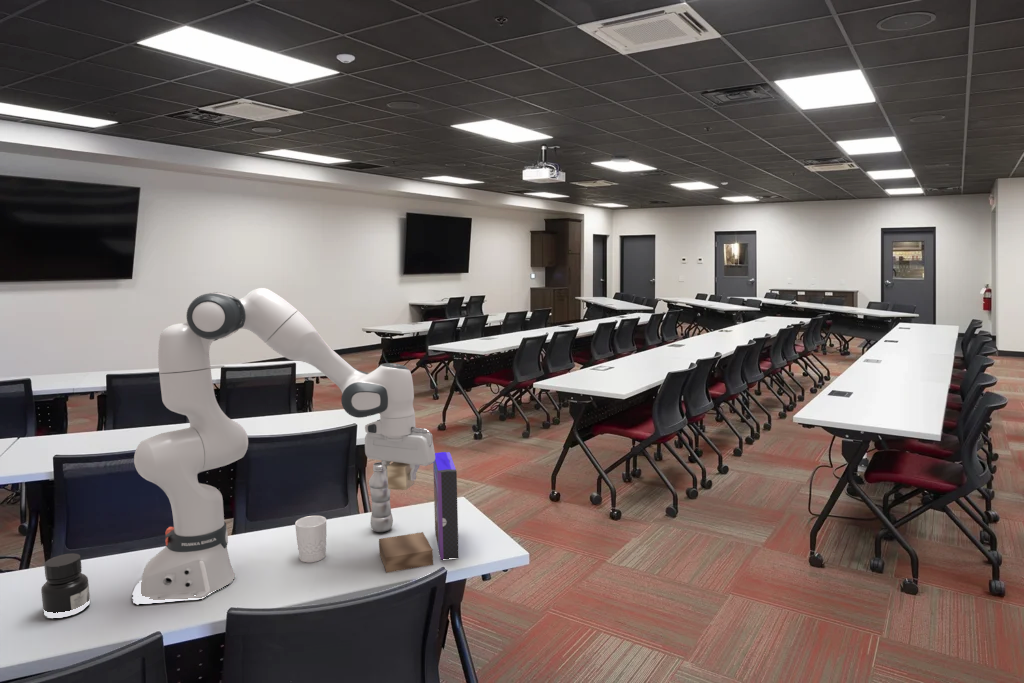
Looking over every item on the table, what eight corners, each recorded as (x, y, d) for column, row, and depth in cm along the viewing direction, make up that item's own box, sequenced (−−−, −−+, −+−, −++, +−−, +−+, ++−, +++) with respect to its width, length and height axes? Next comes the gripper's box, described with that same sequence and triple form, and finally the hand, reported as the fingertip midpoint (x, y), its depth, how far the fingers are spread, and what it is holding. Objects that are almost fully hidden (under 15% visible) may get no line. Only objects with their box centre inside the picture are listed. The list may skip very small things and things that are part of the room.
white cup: (322, 548, 182) (321, 513, 180) (332, 558, 175) (330, 522, 174) (293, 555, 177) (291, 519, 176) (301, 566, 171) (300, 529, 170)
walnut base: (386, 572, 167) (385, 557, 166) (379, 553, 178) (378, 538, 178) (433, 564, 171) (432, 550, 170) (423, 546, 182) (422, 532, 182)
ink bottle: (86, 616, 148) (81, 565, 147) (38, 625, 145) (33, 573, 143) (94, 596, 157) (89, 547, 155) (49, 604, 153) (44, 554, 152)
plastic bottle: (396, 526, 196) (393, 460, 194) (389, 535, 189) (387, 467, 187) (374, 525, 197) (372, 460, 194) (367, 534, 190) (364, 467, 188)
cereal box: (435, 533, 190) (432, 452, 187) (451, 532, 191) (449, 451, 188) (440, 560, 173) (438, 471, 170) (458, 558, 174) (456, 470, 171)
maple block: (388, 489, 170) (387, 466, 169) (396, 483, 175) (395, 460, 174) (406, 490, 169) (405, 467, 168) (414, 483, 173) (413, 461, 173)
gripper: (438, 426, 168) (441, 479, 169) (375, 420, 178) (378, 470, 179) (424, 432, 162) (427, 486, 164) (359, 425, 172) (362, 477, 174)
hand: (401, 478), depth 172 cm, fingers closed on maple block, 6 cm apart
